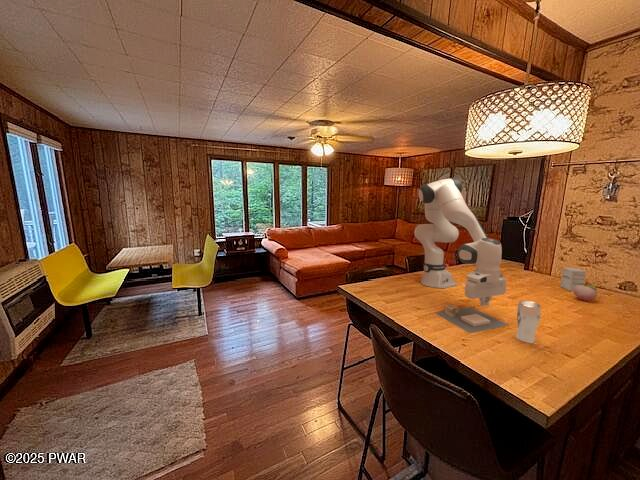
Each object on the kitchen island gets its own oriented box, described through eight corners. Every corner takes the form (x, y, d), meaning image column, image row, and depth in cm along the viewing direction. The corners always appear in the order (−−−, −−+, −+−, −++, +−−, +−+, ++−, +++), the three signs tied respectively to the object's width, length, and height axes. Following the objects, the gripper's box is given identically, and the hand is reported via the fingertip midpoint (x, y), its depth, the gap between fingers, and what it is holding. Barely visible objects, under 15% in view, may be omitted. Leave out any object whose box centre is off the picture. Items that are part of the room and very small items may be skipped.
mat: (470, 308, 131) (470, 307, 131) (509, 326, 112) (509, 325, 112) (434, 314, 125) (434, 312, 125) (469, 334, 106) (469, 333, 106)
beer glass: (511, 334, 106) (515, 299, 104) (532, 337, 103) (537, 301, 101) (517, 342, 100) (521, 306, 97) (539, 346, 97) (544, 308, 95)
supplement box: (559, 286, 162) (562, 267, 160) (573, 287, 161) (576, 267, 159) (569, 291, 155) (572, 270, 153) (583, 291, 153) (586, 270, 151)
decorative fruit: (598, 301, 138) (601, 283, 137) (593, 305, 134) (596, 286, 132) (574, 296, 146) (577, 279, 145) (569, 299, 142) (572, 281, 140)
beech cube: (451, 312, 125) (452, 304, 125) (458, 315, 122) (458, 307, 121) (444, 313, 124) (445, 305, 124) (451, 317, 120) (451, 308, 120)
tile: (476, 313, 120) (461, 316, 117) (490, 320, 113) (474, 323, 111) (476, 317, 120) (460, 319, 118) (489, 323, 114) (473, 326, 111)
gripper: (498, 271, 120) (495, 300, 122) (463, 275, 114) (460, 305, 116) (511, 275, 114) (508, 305, 116) (475, 279, 108) (472, 311, 110)
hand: (484, 305), depth 116 cm, fingers closed
